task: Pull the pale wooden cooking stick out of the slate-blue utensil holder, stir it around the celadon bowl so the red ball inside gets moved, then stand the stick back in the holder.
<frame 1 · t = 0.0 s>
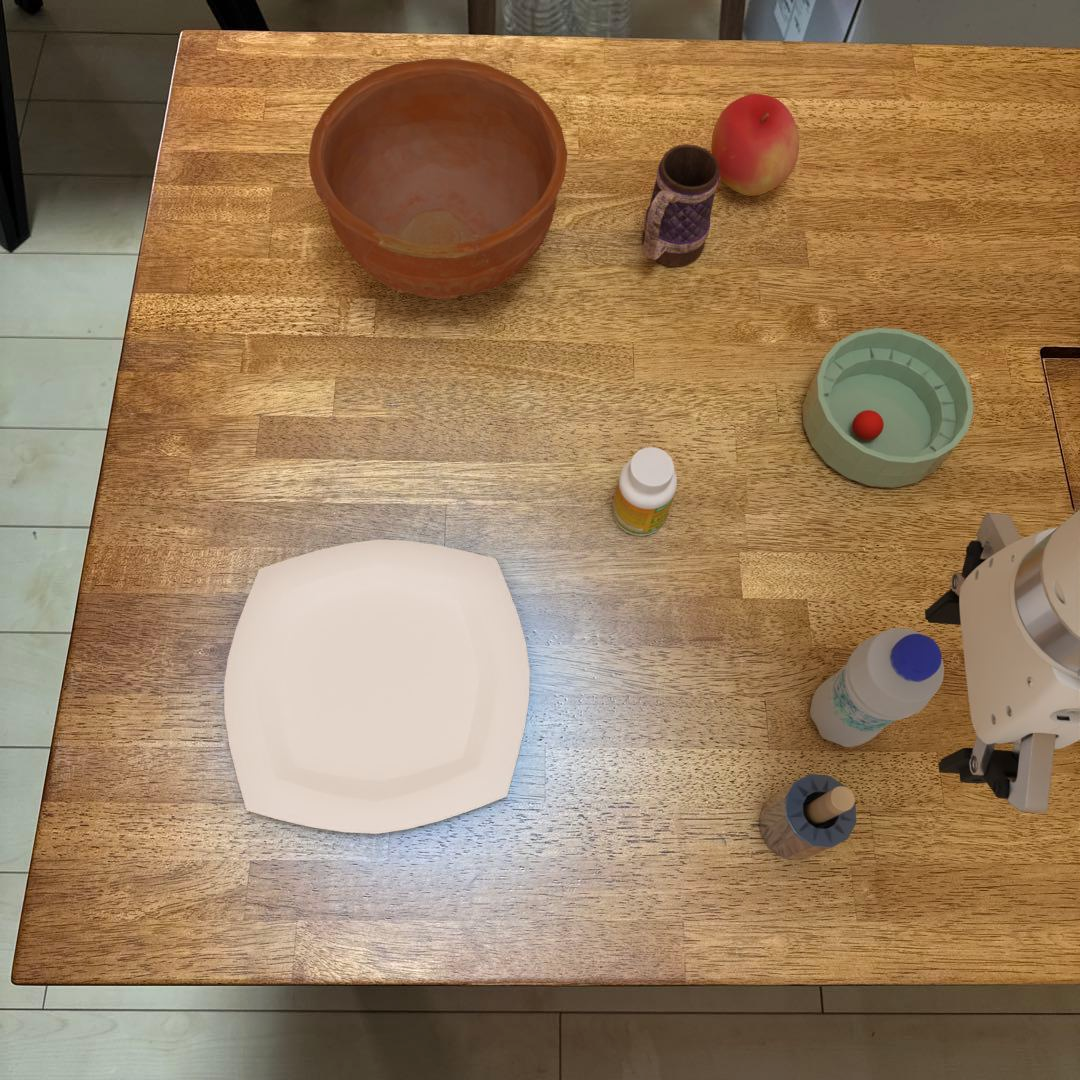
hand: (955, 691, 64), 28 cm above the table, tool pointing down, fingers open, 9 cm apart
mug: (664, 253, 113), on the table
stick: (793, 825, 88), point 1 cm above the table, touching holder
mixing bowl: (874, 423, 105), on the table
bowl: (446, 251, 112), on the table
holder: (791, 826, 88), on the table
apple: (743, 182, 117), on the table
supplement bottle: (638, 513, 100), on the table
red ball: (867, 425, 102), point 2 cm above the table, touching mixing bowl
plate: (380, 683, 92), on the table
bottle: (838, 716, 93), on the table
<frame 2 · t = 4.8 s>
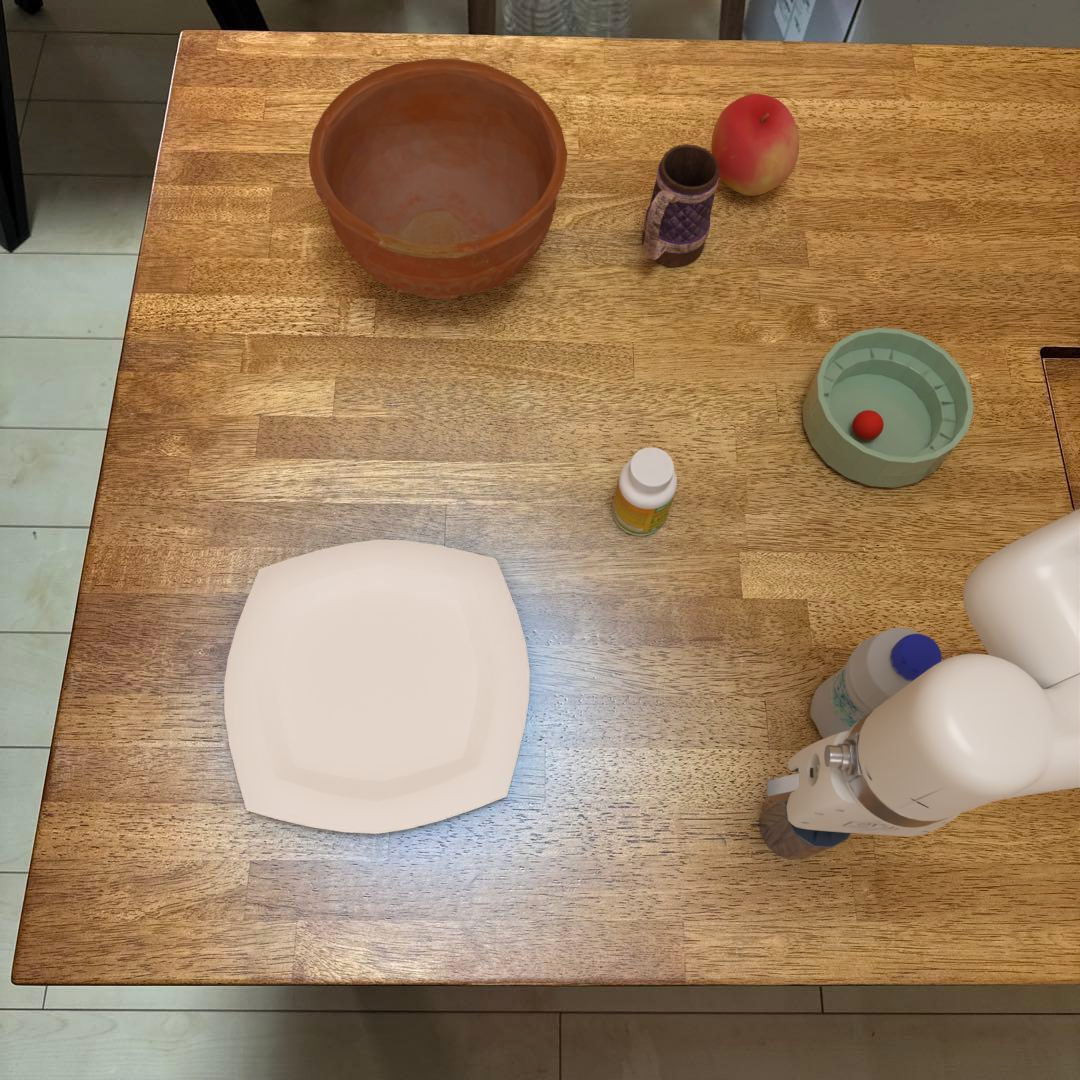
hand: (823, 808, 80), 9 cm above the table, tool pointing down, fingers closed on stick, 1 cm apart
stick: (794, 824, 88), point 1 cm above the table, touching gripper
everything else where it was.
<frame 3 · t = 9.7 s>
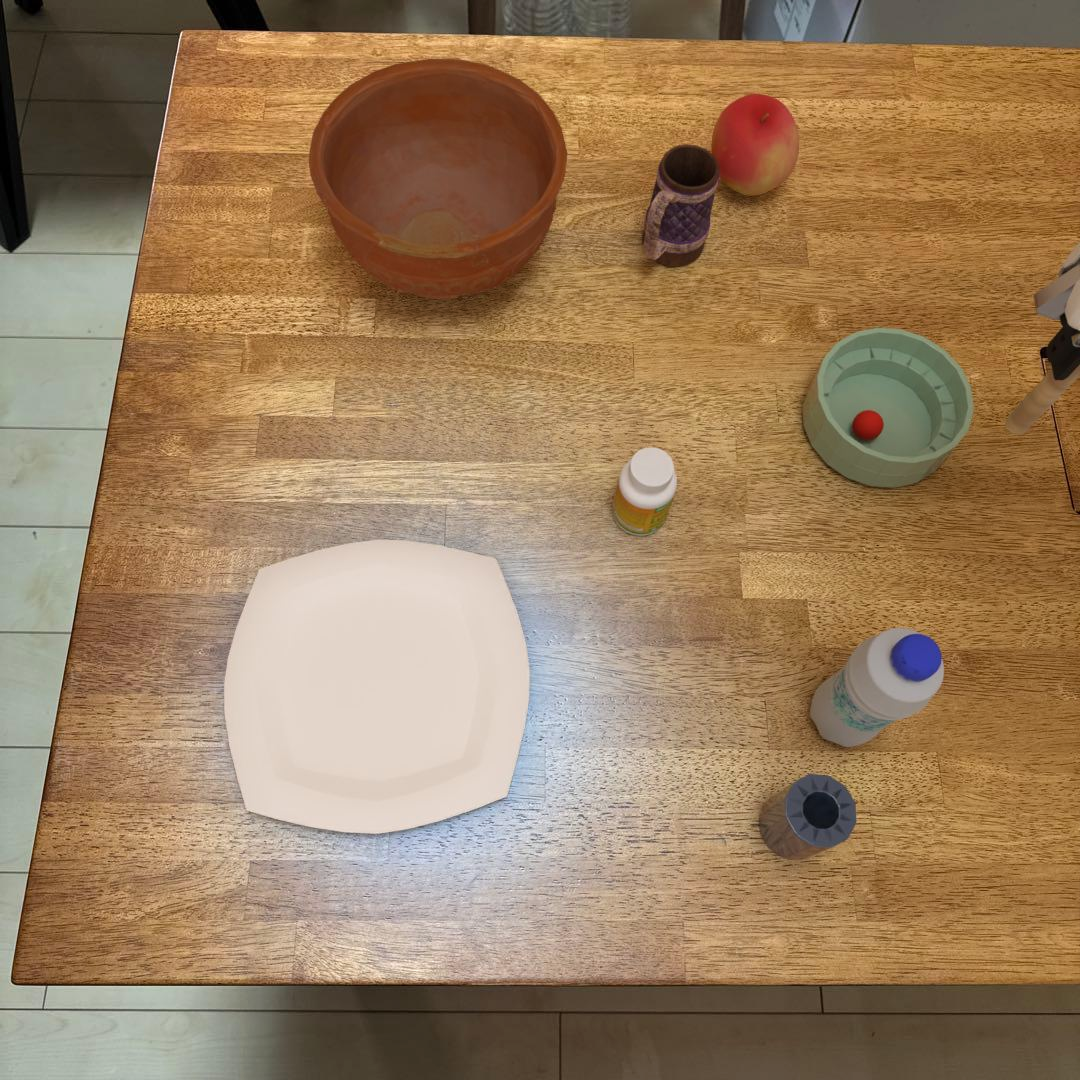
hand: (1073, 363, 73), 29 cm above the table, tool pointing down, fingers closed on stick
stick: (1016, 425, 81), point 20 cm above the table, touching gripper
everything else where it was.
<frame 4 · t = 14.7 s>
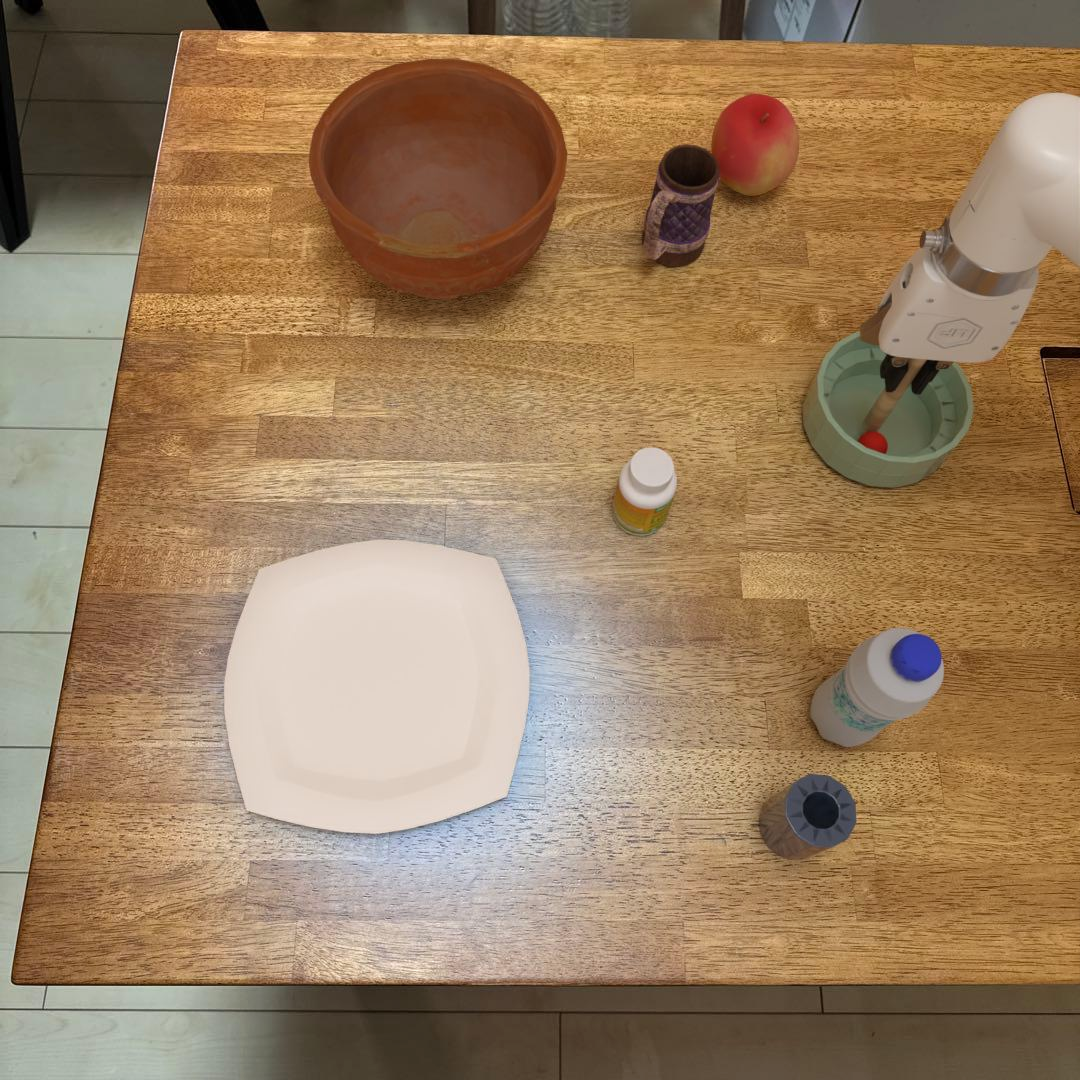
hand: (901, 379, 94), 11 cm above the table, tool pointing down, fingers closed on stick, 1 cm apart
stick: (870, 426, 102), point 2 cm above the table, touching gripper, red ball
red ball: (871, 446, 101), point 2 cm above the table, tilted 88°, touching mixing bowl, stick
everything else where it was.
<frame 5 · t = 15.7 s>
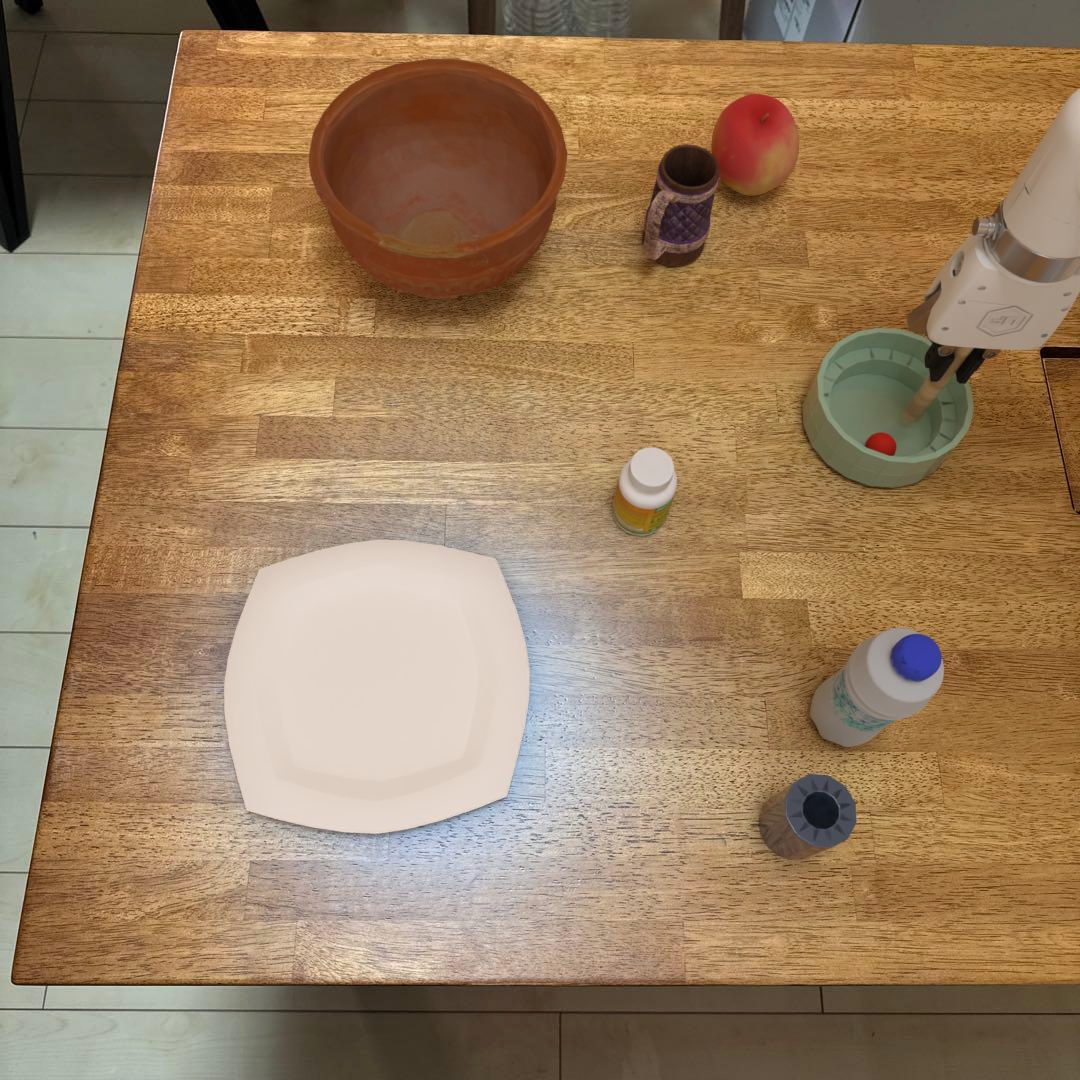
hand: (946, 368, 94), 11 cm above the table, tool pointing down, fingers closed on stick, 1 cm apart
stick: (911, 414, 102), point 3 cm above the table, touching gripper
red ball: (880, 447, 101), point 2 cm above the table, tilted 82°, touching mixing bowl
everything else where it was.
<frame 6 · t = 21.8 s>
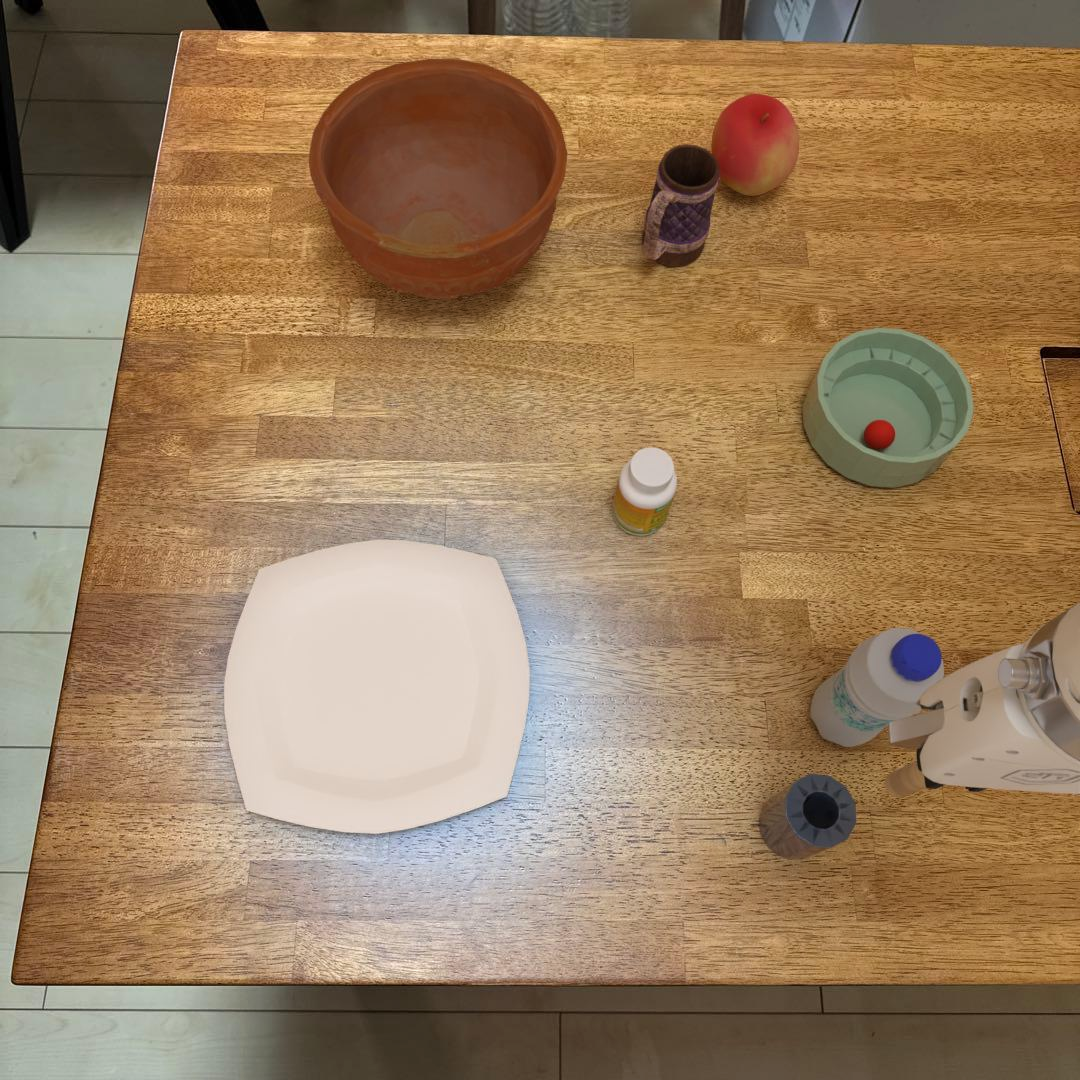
hand: (949, 764, 62), 28 cm above the table, tool pointing down, fingers closed on stick
stick: (897, 784, 70), point 20 cm above the table, touching gripper
red ball: (879, 434, 102), point 2 cm above the table, tilted 43°, touching mixing bowl
everything else where it was.
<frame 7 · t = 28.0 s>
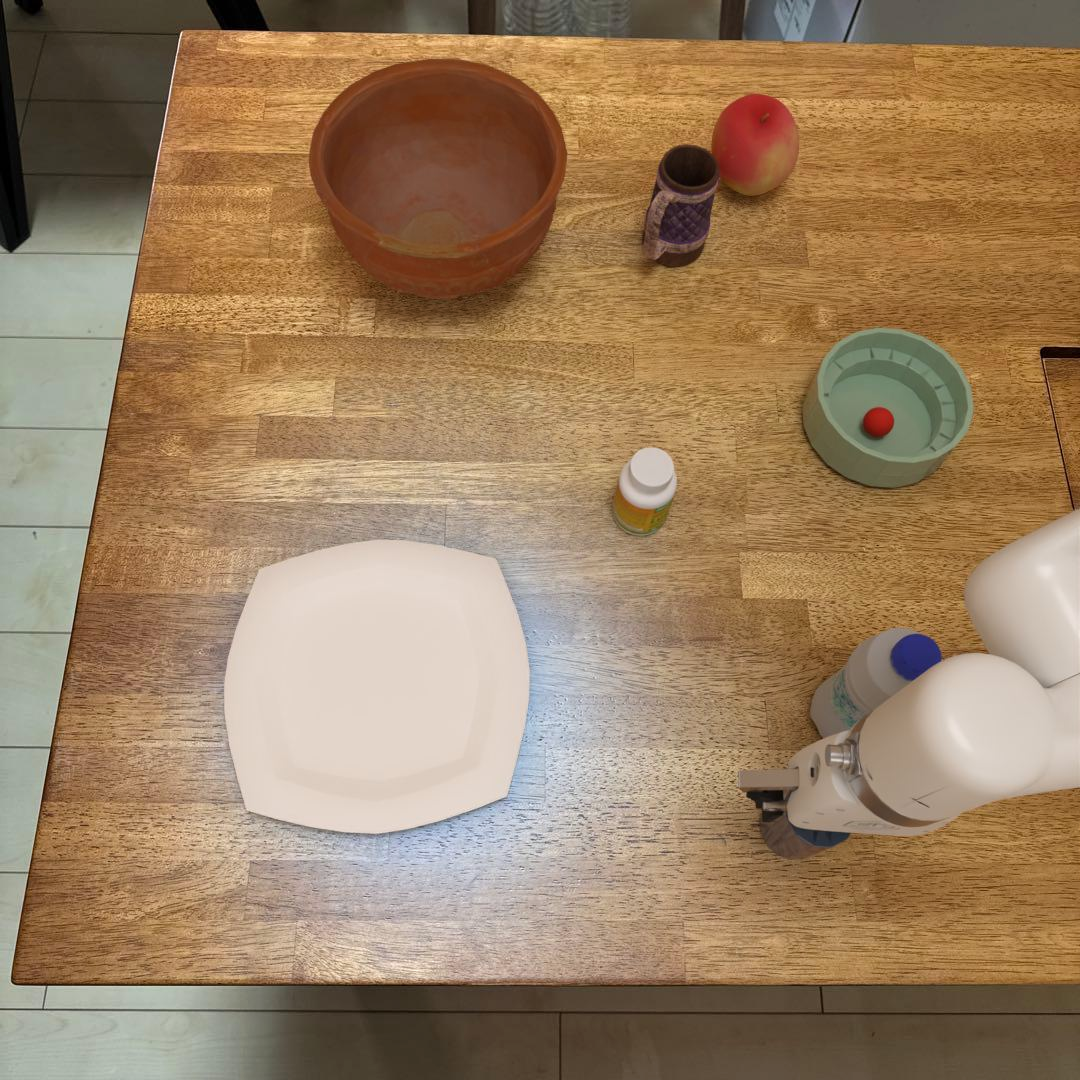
hand: (828, 806, 78), 11 cm above the table, tool pointing down, fingers open, 9 cm apart
stick: (791, 821, 88), point 1 cm above the table, touching holder
red ball: (878, 422, 102), point 2 cm above the table, tilted 45°, touching mixing bowl
everything else where it was.
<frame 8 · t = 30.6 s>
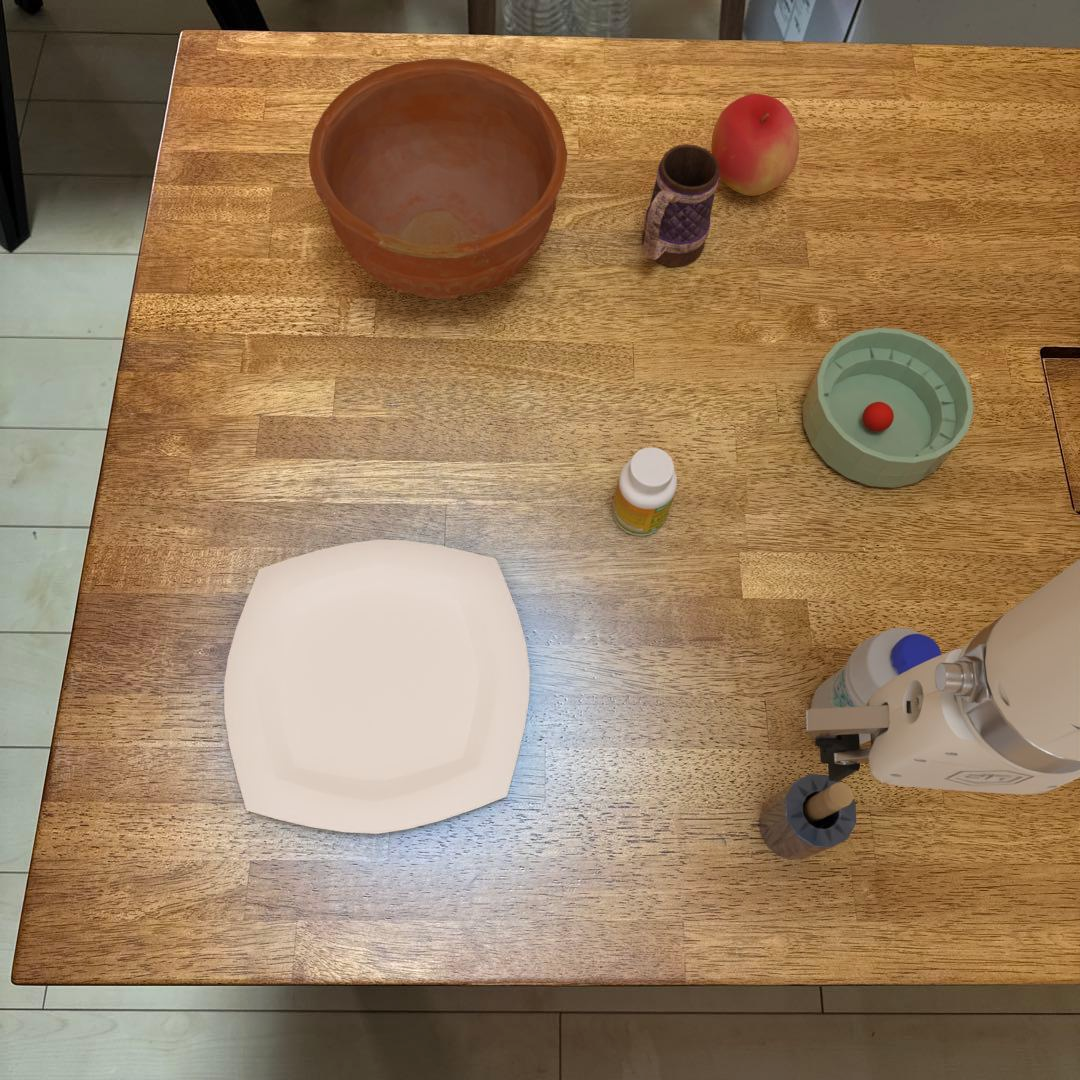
hand: (911, 761, 62), 28 cm above the table, tool pointing down, fingers open, 9 cm apart
red ball: (878, 416, 103), point 2 cm above the table, tilted 61°, touching mixing bowl
everything else where it was.
at the end: red ball moved 1.6 cm from its start; red ball inside the target area in the mixing bowl (0.6 cm from its centre), point 2.1 cm above the mixing bowl's base; stick 0.3 cm off-centre in the holder, point 0.6 cm above the holder's base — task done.
